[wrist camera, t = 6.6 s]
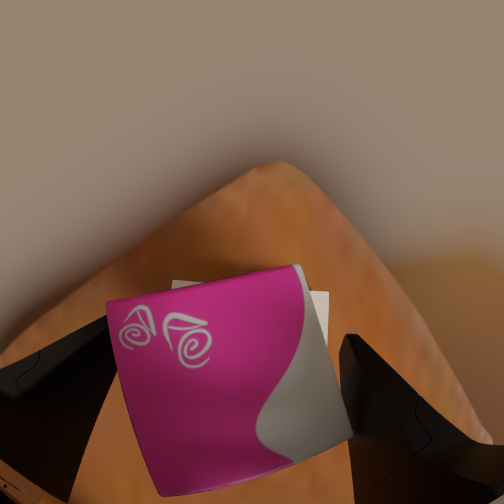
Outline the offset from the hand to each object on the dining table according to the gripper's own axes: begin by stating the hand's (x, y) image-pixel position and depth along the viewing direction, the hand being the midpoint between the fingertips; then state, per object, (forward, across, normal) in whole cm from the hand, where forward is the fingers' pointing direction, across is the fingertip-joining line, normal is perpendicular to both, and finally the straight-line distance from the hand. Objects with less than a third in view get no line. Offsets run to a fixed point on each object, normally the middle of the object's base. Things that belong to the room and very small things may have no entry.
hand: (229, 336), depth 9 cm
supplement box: (+5, +2, +8) cm, 9 cm away
